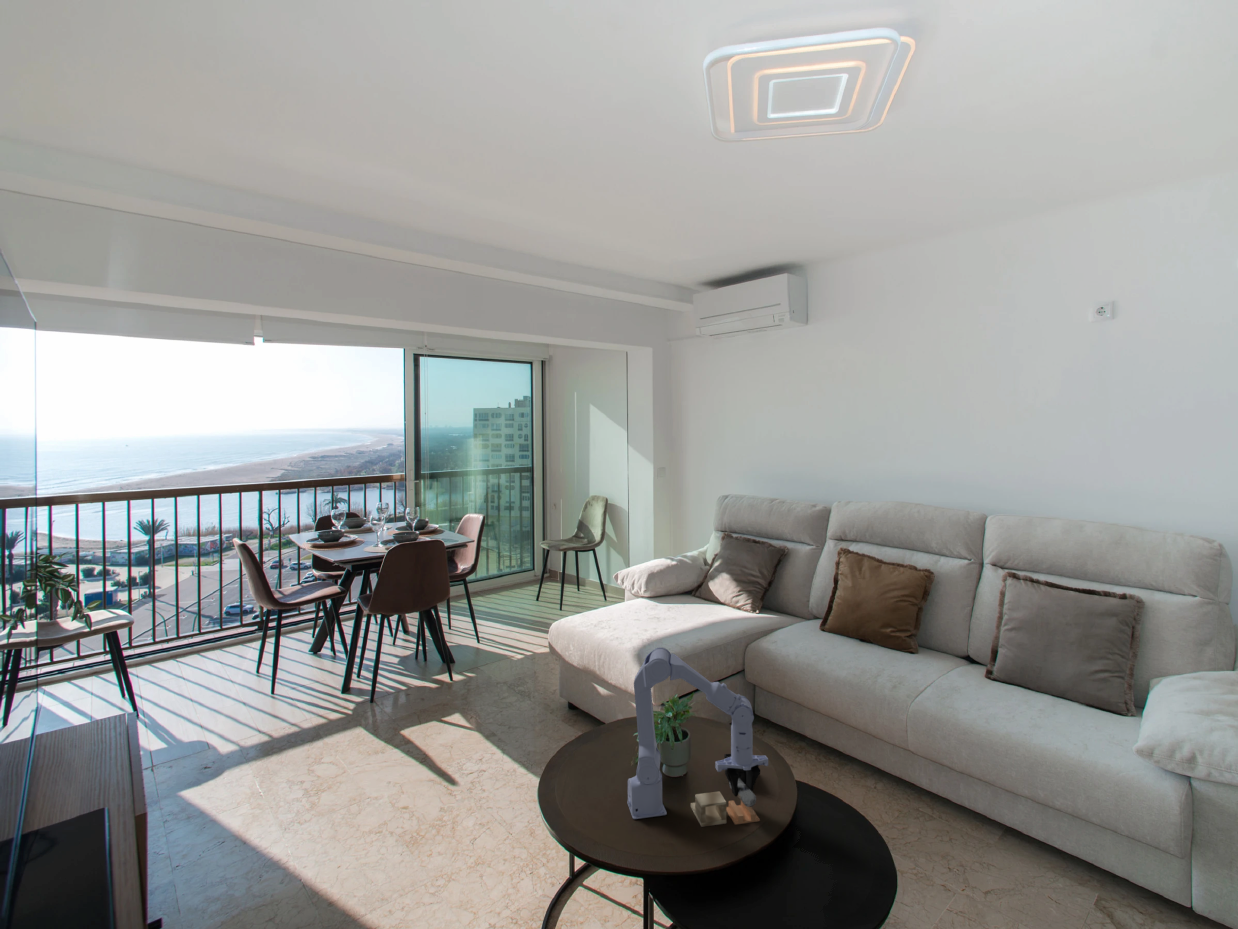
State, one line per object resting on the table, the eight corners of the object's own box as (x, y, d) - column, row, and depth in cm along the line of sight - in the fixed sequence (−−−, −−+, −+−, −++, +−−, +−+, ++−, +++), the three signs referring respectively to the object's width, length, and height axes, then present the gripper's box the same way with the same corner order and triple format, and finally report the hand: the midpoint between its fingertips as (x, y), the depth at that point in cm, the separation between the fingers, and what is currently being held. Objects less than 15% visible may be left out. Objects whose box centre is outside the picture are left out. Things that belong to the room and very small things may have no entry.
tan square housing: (701, 826, 158) (701, 805, 157) (690, 806, 166) (690, 786, 166) (726, 823, 159) (726, 802, 159) (714, 803, 168) (714, 783, 168)
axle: (757, 805, 157) (754, 791, 158) (744, 808, 157) (742, 794, 157) (742, 788, 167) (740, 775, 167) (730, 791, 166) (728, 778, 167)
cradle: (734, 824, 158) (734, 816, 158) (725, 809, 165) (725, 801, 165) (759, 821, 160) (759, 813, 160) (748, 805, 166) (748, 798, 166)
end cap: (756, 789, 174) (756, 766, 174) (732, 790, 174) (732, 767, 174) (746, 771, 184) (746, 749, 184) (724, 772, 184) (723, 750, 184)
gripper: (721, 754, 156) (722, 805, 157) (773, 748, 159) (773, 798, 160) (712, 741, 163) (712, 790, 164) (761, 736, 166) (762, 783, 167)
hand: (742, 793), depth 162 cm, fingers closed on axle, 4 cm apart
